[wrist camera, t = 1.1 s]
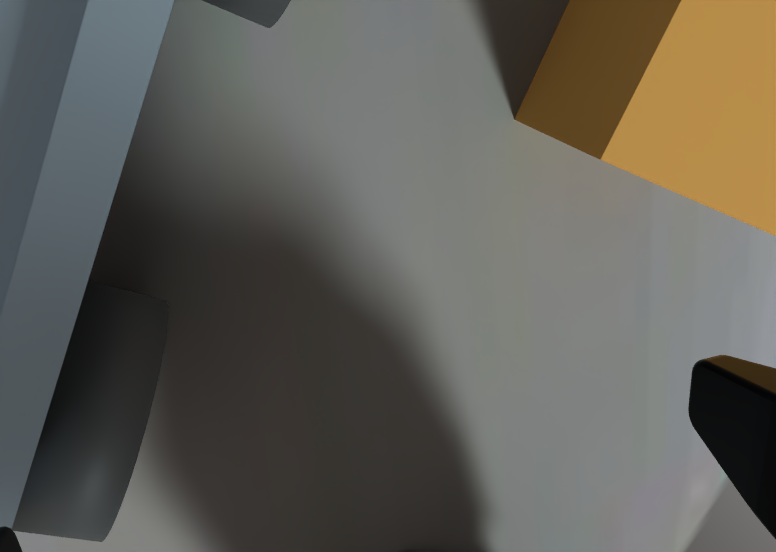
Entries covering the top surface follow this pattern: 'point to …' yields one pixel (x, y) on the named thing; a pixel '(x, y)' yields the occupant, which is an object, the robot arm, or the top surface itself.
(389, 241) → the top surface
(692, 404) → the robot arm
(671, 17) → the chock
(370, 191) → the top surface
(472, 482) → the top surface
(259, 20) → the trolley
